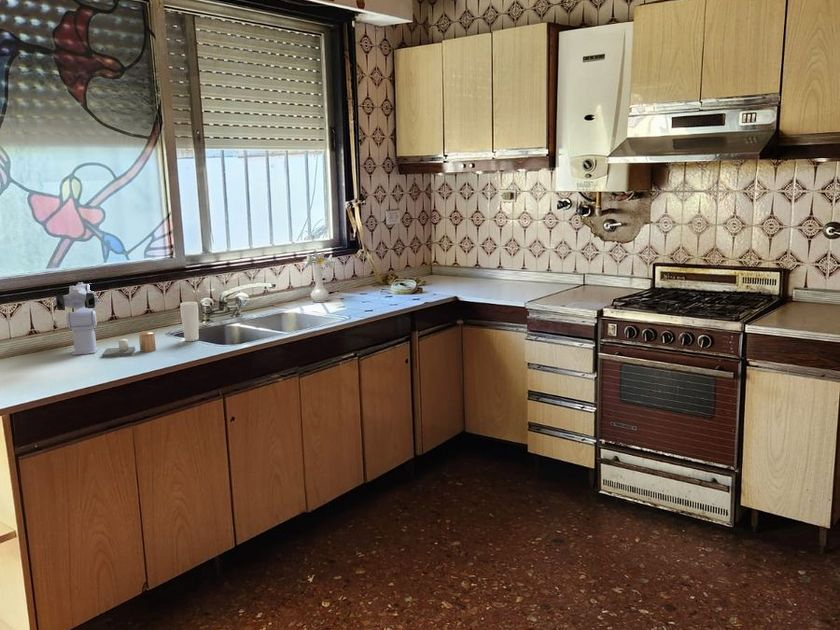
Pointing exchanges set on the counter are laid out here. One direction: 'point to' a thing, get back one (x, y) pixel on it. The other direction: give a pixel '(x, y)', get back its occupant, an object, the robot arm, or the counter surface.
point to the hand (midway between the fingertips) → (73, 305)
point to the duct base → (116, 352)
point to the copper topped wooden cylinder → (147, 341)
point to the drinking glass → (190, 320)
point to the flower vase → (319, 275)
